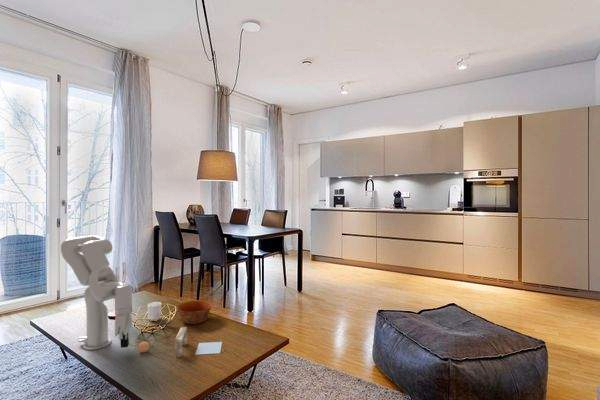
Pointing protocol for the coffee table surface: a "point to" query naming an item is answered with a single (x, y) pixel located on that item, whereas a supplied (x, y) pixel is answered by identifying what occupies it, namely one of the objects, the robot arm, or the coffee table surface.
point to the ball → (143, 347)
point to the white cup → (154, 310)
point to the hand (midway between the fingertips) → (124, 346)
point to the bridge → (180, 341)
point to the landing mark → (209, 348)
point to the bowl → (194, 311)
